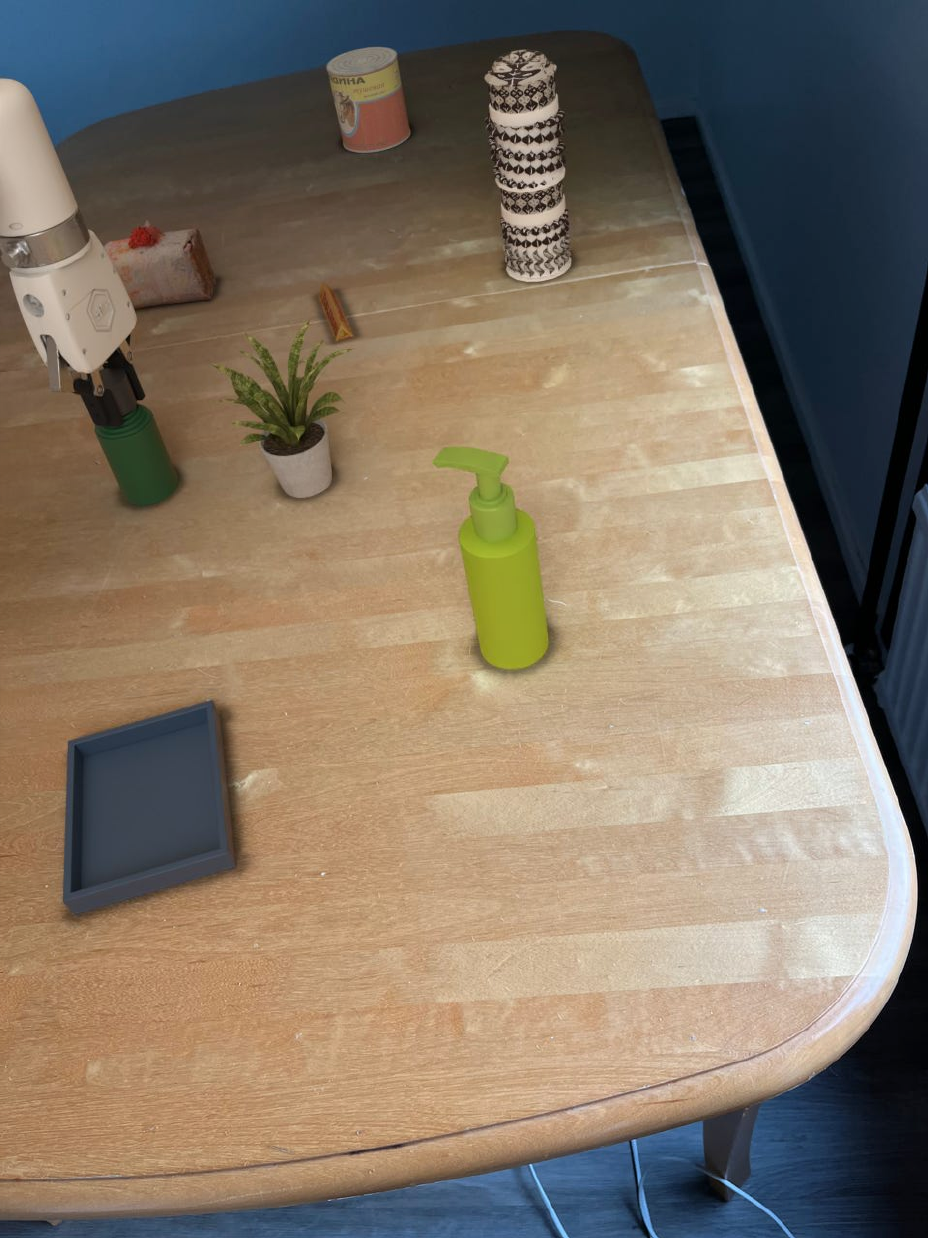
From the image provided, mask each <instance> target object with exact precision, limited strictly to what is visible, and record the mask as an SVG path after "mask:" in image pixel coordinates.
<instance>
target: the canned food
mask: <svg viewBox="0 0 928 1238" xmlns="http://www.w3.org/2000/svg"><path fill="white" fill-rule="evenodd" d="M325 69H326V71H327V75H328V80H329V84H330V88H331V92H332V93H331V94H332V97H333V103H334V106H335V111H336V115H337V120H338V124H339V128H340V133H341V137H342V145H343V147H344V149H345V150H347V151H349V152H352V153H357V154H370V153H377V152H384V151H386V150H389V149H393V148H396V147H397V146H399V145H401V144H403V143H404V142H406V141H407V140H408V139H409V137H410V136H411V134H412V133H411V129H410V124H409V119H408V113H407V107H406V101H405V96H404V89H403V85H402V79H401V74H400V73H401V72H400V67H399V61H398V52H397V51H396V50H395V49H393V48H390V47H385V46H370V47H369V46H368V47H362V48H357V49H352V50H349V51H346V52H344V53H341V54H338V55H337V56H334V57H333V58H331V59H330V60H329V61H328V62H327V63H326V66H325Z"/></svg>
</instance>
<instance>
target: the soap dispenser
mask: <svg viewBox="0 0 928 1238" xmlns="http://www.w3.org/2000/svg"><path fill="white" fill-rule="evenodd" d="M509 463H510V460H509V456H508V455H504V454H501V453H497V452H493V451H489V450H486V449H480V448H476V447H471V446H470V447H469V446H444V447H442V448H441V449H440V451H439V452H438V453H437V455H436V456H435V458H434V459H433V460H432V464H433V466H435V467H436V468H438V469H456V470H460V471H465V472H469V473H474V474H475V479H476V484H477V486H475V487H474V488H473V489H471V491H470V493H469V495H468V504H469V510H470V511H469V512H470V515H469V516H468V517H466V519H465V520H464V521H463V523H462V524H461V526H460V527H459V530H458V542H459V545H460V546H459V547H460V552H461V557H462V562H463V569H464V572H465V573H464V574H465V578H466V583H467V588H468V593H469V598H470V603H471V608H472V615H473V618H474V624H475V629H476V633H477V634H476V635H477V639H478V645H479V649H480V653H481V655H482V657H483V658H484V660H485V661H486V662H488V663H489V664H490V665H492V666H493V667H496V668H498V669H503V670H520V669H523V668H528V667H530V666H532V665H534V664H535V663H537V662H538V661H540V660H541V659H542V657H543V656H544V655H545V654H546V652H547V650H548V648H549V644H550V641H549V640H550V639H549V631H548V623H547V616H546V615H547V614H546V605H545V598H544V589H543V582H542V573H541V564H540V556H539V549H538V539H537V532H536V531H537V530H536V524H535V522H534V520H533V518H532V517H531V516H530V515H529V514H528V513H527V512H525V511H524V510H522V509H520V508H517V506H516V500H515V499H516V498H515V492H514V490H513V488H512V487H511V486H510V485H509V484H507V483H505V482H502V481H501V475H502V474H503V473H504V471H505V470H506V468H507V466H508V465H509Z"/></svg>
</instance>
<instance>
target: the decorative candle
mask: <svg viewBox="0 0 928 1238" xmlns="http://www.w3.org/2000/svg"><path fill="white" fill-rule="evenodd" d="M548 59H549V58H547V56H546V55H545V54H544V53H543V52H542V51H538V50H535V49H517V50H513V51H509V52H506V53H503V54H502V55H500V56H498V57H497V58H496V59H495V60H494V62H493V64H492V67H491V69H490V70H488V71H487V72H486V73H485V75H484V81H485V82H486V83H487V84H488V94H489V99H490V100H489V105H488V109H489V112H488V113H487V116H486V118H485V120H484V122H485V124H486V125H485V129H486V131H488V132H489V134H490V135H489V136H488V138H487V140H488V143H489V148H490V151H489V152H490V154H491V155H490V159H491V161H493V162H494V165H493V170H492V171H493V172H494V178H495V181H494V182H495V184H496V186H497V187H498V188H500V197H501V203H500V211H501V217H500V226H501V227H502V229H501V238H502V239H503V244H502V246H503V247H502V250H503V253H504V263H505V265H506V269H505V271H506V273H507V274H508V276H509V277H511V278H513V279H514V280H517V281H521V282H527V283H534V282H535V283H536V282H537V283H538V282H544V281H548V280H552V279H555V278H557V277H559V276H561V275H563V274H565V273H566V272H567V271H568V270H569V269H570V268H571V265H572V258H571V256H572V252H571V250H572V247H571V246H570V245H571V240H570V239H571V235H570V234H569V233H568V232H569V231H570V222H569V221H568V219H569V209H568V208H567V207H566V196H565V194H564V191H563V188H564V186H563V179H564V178H565V175H566V168H565V166H564V165H565V164H566V163H567V160H566V156H565V155H564V154H563V153H564V151H565V150H566V144H565V142H564V141H563V140H561V139H559V138H561V137H562V135H563V134H565V132H566V127H565V124H564V123H562V122H563V120H564V119H565V116H566V115H565V114H566V113H565V112H564V111H563V109H562V108H559V107H560V106H559V95H558V94H557V91H556V76H555V73H556V71H557V65H556V64H555V63H554V62H553V61H551V60H548ZM492 123H493V124H492Z"/></svg>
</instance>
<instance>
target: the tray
mask: <svg viewBox="0 0 928 1238" xmlns="http://www.w3.org/2000/svg"><path fill="white" fill-rule="evenodd" d="M222 727H223V726H222V717H221V713H220V711H219V710H218V708H217V706H216V704H215V701H214V699H211V700H207V701H204V702H203V701H202V702H200V703H197V704H193V705H190V706H186V707H183V708H178V709H175V710H172V711H169V712H166V713H162V714H158V715H155V716H152V717H148V718H147V717H146V718H143V719H141V720H136V721H134V722H130V723H126V724H123V725H119V726H116V727H112V728H109V729H106V730H102V731H98V732H95V733H92V734H88V735H84V736H81V737H78V738H74V739H71V740H67V753H66V755H67V756H66V783H65V784H66V787H65V788H66V789H65V817H64V818H65V819H64V850H63V878H62V879H63V880H62V881H63V882H62V903H63V904H64V906H65V907H66V908H67V909H69V911H70V912H71V914H73V916H77V915H81V914H84V913H87V912H90V911H93V910H96V909H97V910H98V909H100V908H104V907H108V906H110V905H114V904H117V903H120V902H121V903H122V902H125V901H127V900H130V899H134V898H137V897H141V896H144V895H148V894H151V893H154V892H157V891H161V890H165V889H167V888H171V887H175V886H177V885H180V884H184V883H188V882H191V881H194V880H197V879H201V878H205V877H207V876H212V875H215V874H217V873H220V872H225V871H228V870H232V869H235V868H237V859H236V849H235V848H236V847H235V840H234V829H233V821H232V810H231V802H230V793H229V783H228V774H227V764H226V755H225V754H226V753H225V745H224V737H223V736H224V735H223V728H222Z"/></svg>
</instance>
